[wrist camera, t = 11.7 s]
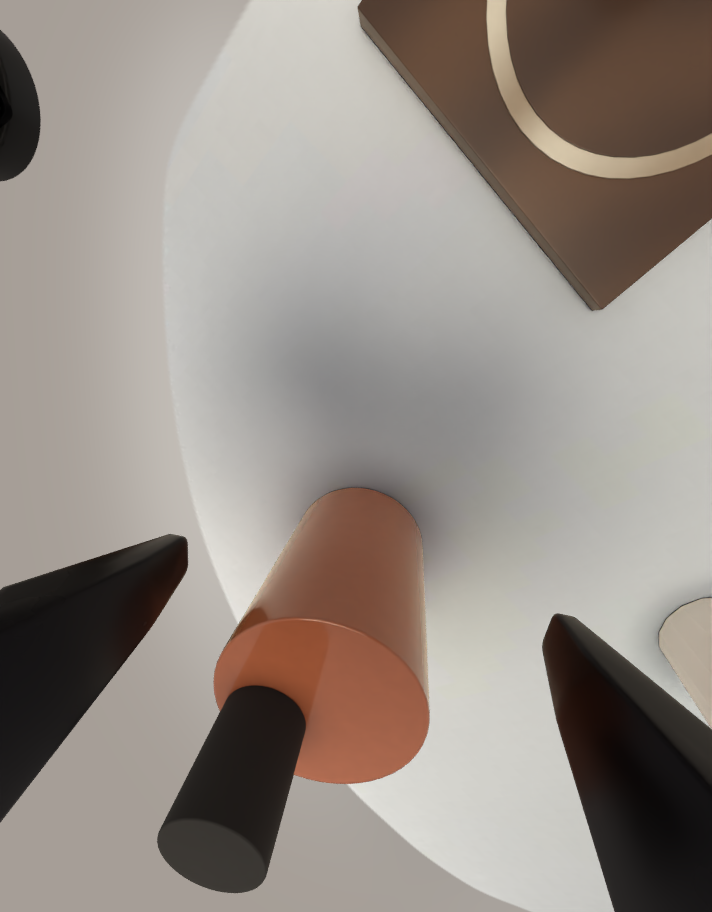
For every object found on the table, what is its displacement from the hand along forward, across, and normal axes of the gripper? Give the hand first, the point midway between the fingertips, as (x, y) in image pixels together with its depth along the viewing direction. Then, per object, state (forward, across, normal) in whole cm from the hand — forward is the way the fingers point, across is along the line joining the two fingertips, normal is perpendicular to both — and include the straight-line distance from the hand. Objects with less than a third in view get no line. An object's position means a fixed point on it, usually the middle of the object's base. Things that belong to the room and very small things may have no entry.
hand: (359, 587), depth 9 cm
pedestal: (+13, +1, +7) cm, 15 cm away
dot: (+2, +3, +8) cm, 9 cm away
